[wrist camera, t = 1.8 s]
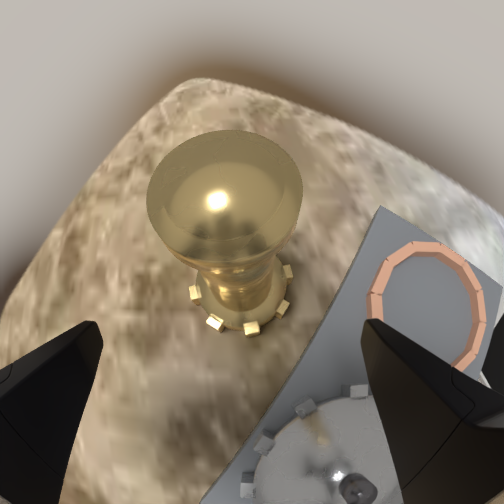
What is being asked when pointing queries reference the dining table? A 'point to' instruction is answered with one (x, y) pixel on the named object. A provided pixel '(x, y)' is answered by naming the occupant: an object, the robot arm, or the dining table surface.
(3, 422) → the robot arm
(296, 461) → the gear
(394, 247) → the gear board
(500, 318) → the smartphone
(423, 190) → the dining table surface
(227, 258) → the gold piece
